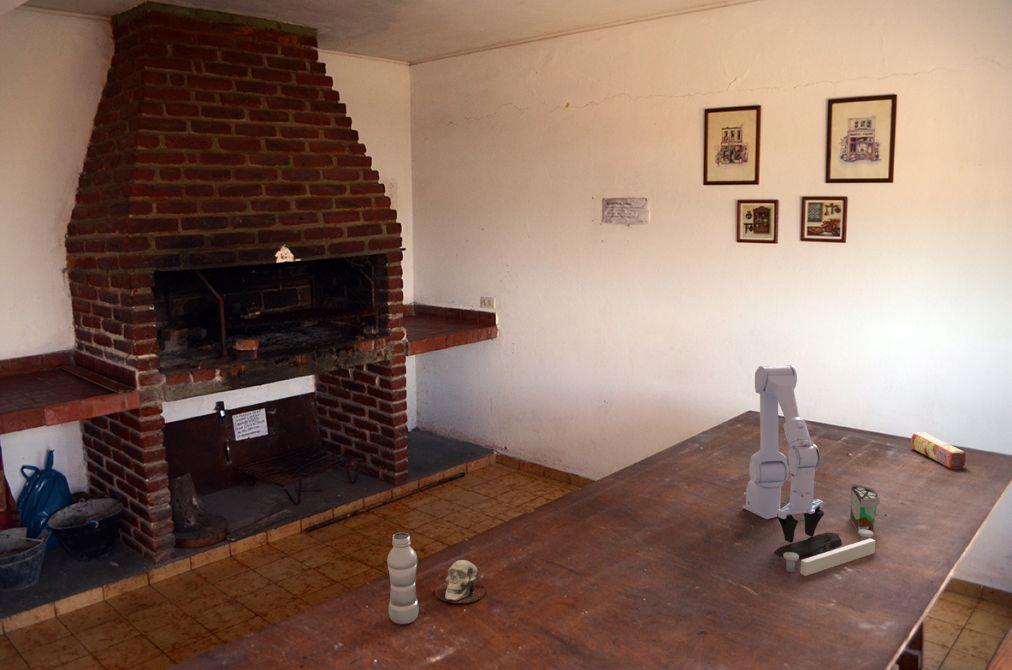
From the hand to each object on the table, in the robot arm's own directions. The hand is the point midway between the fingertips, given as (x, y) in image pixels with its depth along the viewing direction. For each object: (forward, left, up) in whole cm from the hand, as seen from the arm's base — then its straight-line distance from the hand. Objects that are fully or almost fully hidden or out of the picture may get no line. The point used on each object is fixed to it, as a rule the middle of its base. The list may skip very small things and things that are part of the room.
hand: (799, 538), depth 209 cm
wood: (+4, +1, -2) cm, 5 cm away
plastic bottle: (-15, -105, -2) cm, 107 cm away
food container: (+1, +25, -2) cm, 25 cm away
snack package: (-24, +92, -2) cm, 95 cm away
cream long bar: (+11, 0, -1) cm, 11 cm away
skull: (-20, -89, -2) cm, 92 cm away
